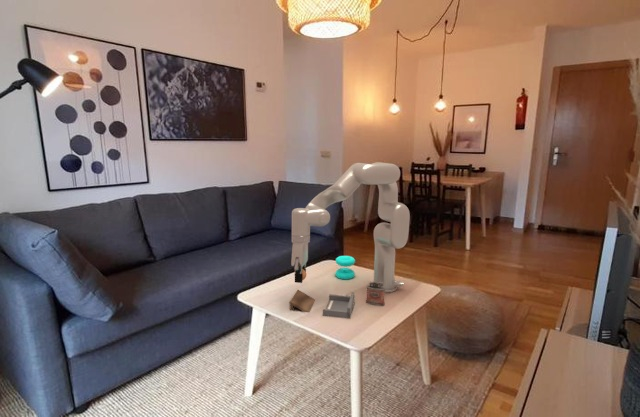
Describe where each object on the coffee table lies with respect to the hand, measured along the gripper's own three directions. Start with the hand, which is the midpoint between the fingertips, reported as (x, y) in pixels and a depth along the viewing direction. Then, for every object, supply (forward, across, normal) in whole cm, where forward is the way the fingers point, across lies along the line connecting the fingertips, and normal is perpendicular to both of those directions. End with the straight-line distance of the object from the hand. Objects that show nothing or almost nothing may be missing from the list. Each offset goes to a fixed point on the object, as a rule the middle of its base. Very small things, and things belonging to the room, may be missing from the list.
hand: (300, 279), depth 149 cm
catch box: (+11, 0, +17) cm, 20 cm away
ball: (0, 0, 0) cm, 0 cm away
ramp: (+11, 0, +1) cm, 11 cm away
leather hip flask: (+11, -8, +31) cm, 34 cm away
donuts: (+11, -36, +14) cm, 41 cm away
